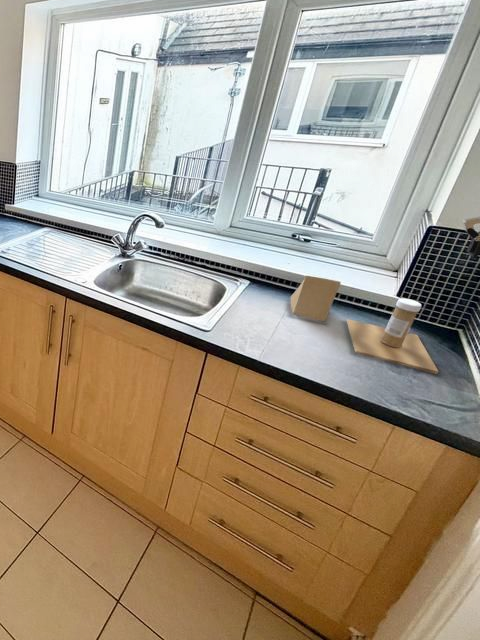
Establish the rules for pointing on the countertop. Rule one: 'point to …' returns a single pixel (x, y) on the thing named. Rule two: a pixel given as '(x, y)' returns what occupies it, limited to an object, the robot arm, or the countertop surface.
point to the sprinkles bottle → (400, 322)
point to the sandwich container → (314, 297)
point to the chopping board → (389, 347)
